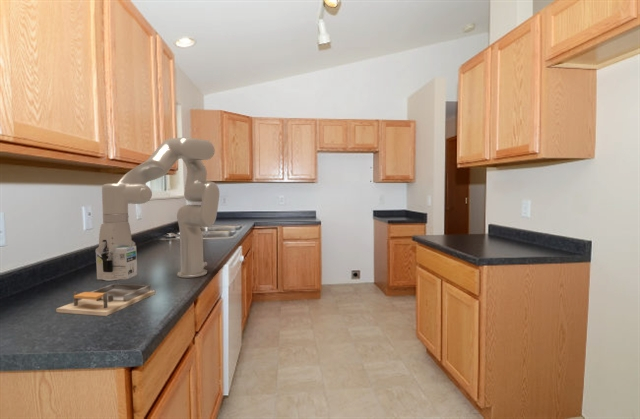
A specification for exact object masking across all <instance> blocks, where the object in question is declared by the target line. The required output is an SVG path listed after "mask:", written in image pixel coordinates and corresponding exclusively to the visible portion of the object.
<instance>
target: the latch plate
mask: <svg viewBox="0 0 640 419" xmlns="http://www.w3.org/2000/svg"><path fill="white" fill-rule="evenodd" d="M103 294H104V293H96V292H91V291H83V292H80V293H77V295H74V294H73V299H74V298H78V300H81V299H94V300H96V299H99V298H101V297H103Z"/></svg>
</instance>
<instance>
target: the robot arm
mask: <svg viewBox="0 0 640 419" xmlns="http://www.w3.org/2000/svg"><path fill="white" fill-rule="evenodd" d="M214 155H215V146H214V144H213V143H212V142H211V141H210V140H207V139H199V138H193V137H173V138H172V137H171V138H167V139H165V140H164V141H163V142H162V143H160V145H159V146H158V147H157V148H156V149H155V151H154V152H153V153H152V154H151V155H150V156H149V157H148V158H147V159H146V160H145V161H144V162H142V163H140V164H139V165H137V166H135V167H134V168H132V169H131V170H129V171H128V172H126V173H125V174H124V175H123V176H121V178H120V179H119V180H118V181H117V182H115V183H114V182H113V183H105V184H103V185H102V187H101V195H102V197H101V198H102V200H101V201H102V223H100V224H101V225H100V229H99V235H98V247H97V248H95V254H96V253H97V254H98V256H99V257H100V258H101V260H102V261H103V272H112V271H113V266H112V260H111V257H112V255H113V253H114V252H115V249H116V248H120V247H126V246H136V242H135V241H134V240H132V233H131V232H132V231H131V225H130V222H129V204H131V205H142V204H146V203H147V202H150V200H151V199H152V197H153V192H152V189H151V188H150V186H148V185H147V183H149V182H151V181H155V180H157V179H160V178H163V177H164V176H166V175H167V174H168V172H169V171H170V170H171V169H172V168H173V166H174V165H175V163H177V161H179V159H182V161H183V162H184V165H185V167H186V172H187V173H186V178H185V179H186V180H185V185H184V194H183V196H184V198H185V200H186V201H188V202H191V203H201V204H185V205H182V206H181V207H180V208H179V209H178V210H177V214H176V219H177V224H178V228H179V243H180V244H179V246H180V249H179V250H180V271H178V272H177V277H179V278H183V279H184V278H186V279H188V278H189V279H191V278H198V277H203V276H205V275H207V274H208V270H207V269H206V268H205V267H206V266H208V262H207V261H204V237H203V232H202V229H201V228H200V227H205V228H207V227H211V226H213V225H214V224H215V222H216V220H217V215H218V208H219V201H220V189H219V186H218V185H217V184H216V183H215V181H211V180H207V177H208V176H207V175H208V172H207V171H208V170H207V168H206V166H205V165H204V162H203V161H207V160H211V159H212V158H213V157H214ZM104 248H105V250H103V249H104ZM106 249H109V251H106ZM103 251H104V252H103ZM106 253H108V256H107V255H106ZM204 268H205V269H204Z"/></svg>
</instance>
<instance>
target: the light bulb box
mask: <svg viewBox="0 0 640 419" xmlns="http://www.w3.org/2000/svg"><path fill="white" fill-rule="evenodd" d="M103 250H105V248H104V249H103ZM106 251H109V249H106ZM103 252H104V251H103ZM106 255H107V256H108V253H106ZM137 256H138V254H137V245H135V246H126V247H120V248H116V249H115V252H114V253H113V255H112V257H111V260H112V266H113V271H112V272H103V261H102V260H101V258H100V257H99V256H98V254H97V253H96V252H95V260H96V261H95V263H96V266H95V267H96V280H103V279H119V280H129V279H131V278H133V277H135V276H137V275H138V261H137V260H138V258H137Z"/></svg>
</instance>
